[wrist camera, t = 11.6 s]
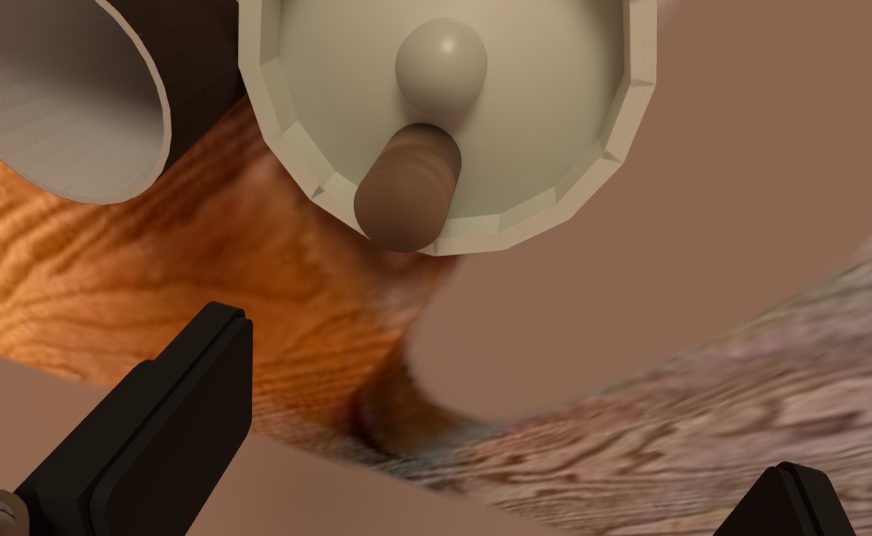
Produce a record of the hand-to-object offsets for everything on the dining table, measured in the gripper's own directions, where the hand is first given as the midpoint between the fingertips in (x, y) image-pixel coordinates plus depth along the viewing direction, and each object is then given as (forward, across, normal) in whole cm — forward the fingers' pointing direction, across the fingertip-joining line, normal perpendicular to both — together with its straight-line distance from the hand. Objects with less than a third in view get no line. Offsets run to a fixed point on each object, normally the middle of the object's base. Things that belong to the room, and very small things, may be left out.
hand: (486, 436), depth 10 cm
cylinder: (+20, +5, +4) cm, 21 cm away
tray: (+21, +5, -2) cm, 21 cm away
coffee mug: (+20, +19, 0) cm, 28 cm away
